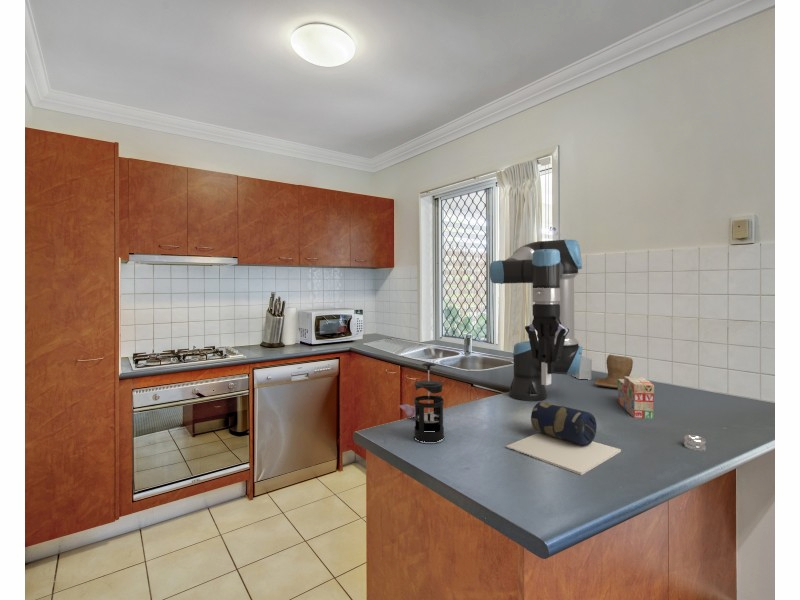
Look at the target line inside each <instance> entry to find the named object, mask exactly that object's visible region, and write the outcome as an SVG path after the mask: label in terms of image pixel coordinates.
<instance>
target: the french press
mask: <svg viewBox="0 0 800 600" xmlns="http://www.w3.org/2000/svg"><path fill="white" fill-rule="evenodd" d="M421 366H423V367H426V370H427V379H426V380H425V379H424V380H417V381H415V382H413V386H415V391H417V390H419V389H425V390H426V391H428V392H427V395H420V396H417V397H414V399H413V402H414V403H413V404H414V407H415V417H414V419H415V423H414V424H415V425H414V431H413V432H414V435H415V438H416V439H417V440H419V441H423V442H424V441H425V442H437V441H439V440H441V439H443V438H444V437H445V431H444V428H445V427H444V400H445V399H444V398H443V397H442V396H441V395H437V394H439V393H442V391H443V386H444V382H442V381H440V380H431V379H430V371H431V367H434V366H436V364H435V363H434V362H424V363H422V364H421ZM430 394H436V395H430ZM430 400H431V401H433V402H430ZM420 401H421V402H420ZM422 401H427V402H422ZM425 408H426V409H427V408H428V410H427V411H428V412H427V413H426V412H425ZM430 409H433V412H432V413H430V411H431V410H430ZM424 431H435V432H424Z"/></svg>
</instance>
